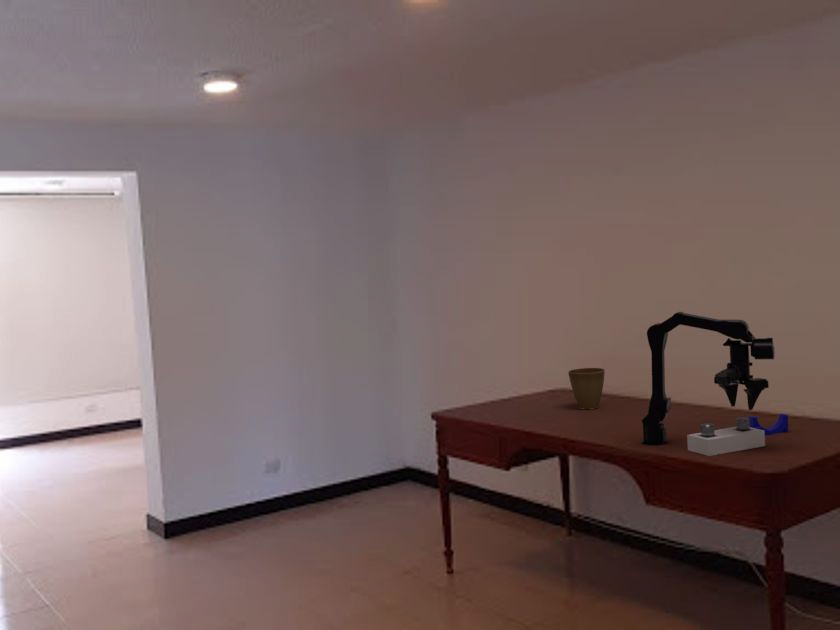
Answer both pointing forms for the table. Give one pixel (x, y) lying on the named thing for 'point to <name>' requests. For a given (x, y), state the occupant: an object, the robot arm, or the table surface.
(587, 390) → the plant pot
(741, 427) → the far peg
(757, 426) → the blue arch block
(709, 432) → the near peg
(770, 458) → the table surface
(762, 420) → the table surface
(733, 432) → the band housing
